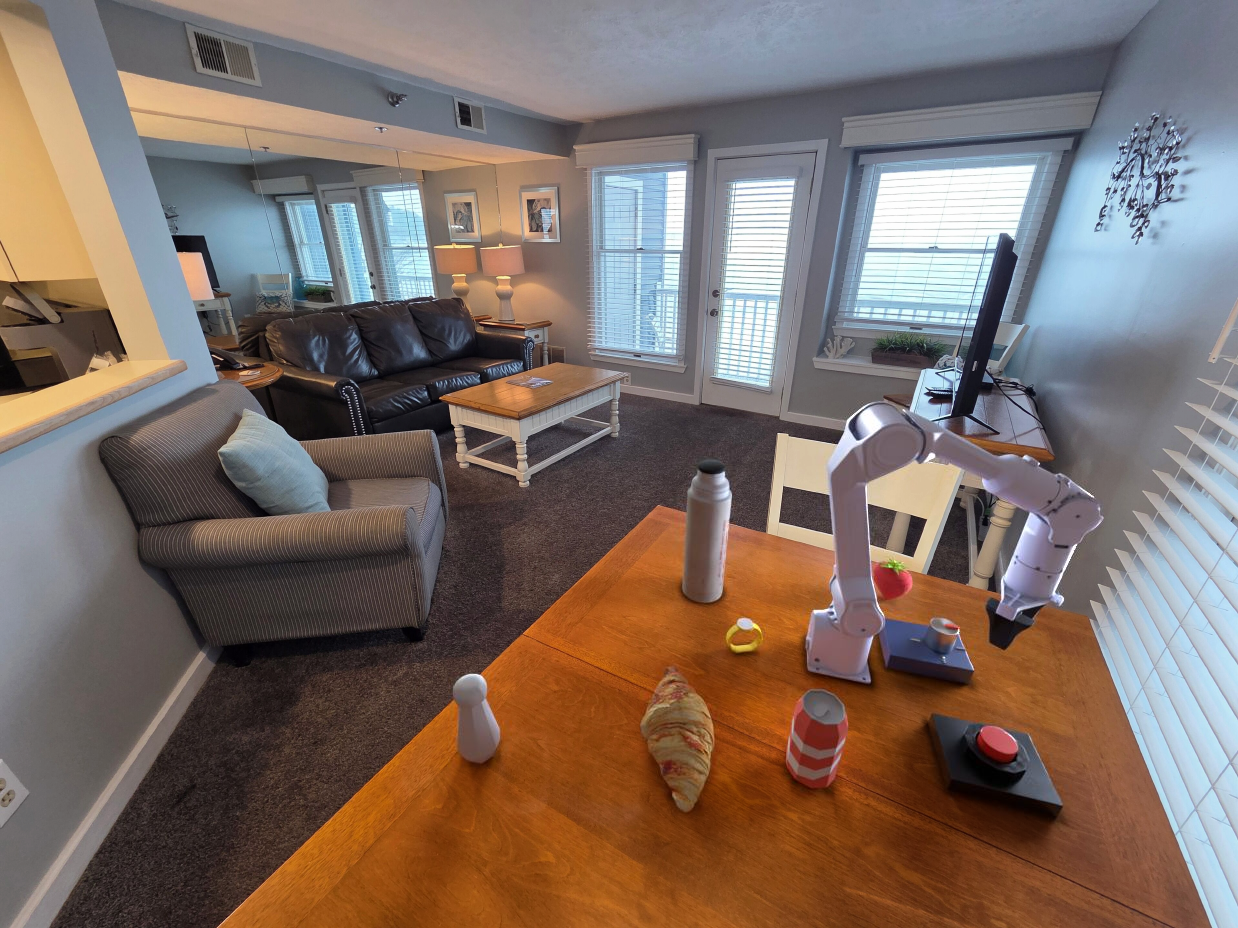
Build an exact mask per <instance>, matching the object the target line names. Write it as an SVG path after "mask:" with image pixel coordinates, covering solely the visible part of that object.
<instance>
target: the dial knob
mask: <svg viewBox="0 0 1238 928" xmlns="http://www.w3.org/2000/svg"><path fill="white" fill-rule="evenodd" d="M928 626H929V627H928V630H927V633H926V636H925V643H926V645H927V646H928V647H929V648H931V649H932V650H934V651H936V652H939V653H950V652H951V651H952V649H953V646H954V644H955V641H956V638H957V635H958V634H960V633H959V632H960V627H959V625H957V624H956V623H954V622H953V621H951V620H949V619H948V618H947V619H946V618H944V617H933V618H932V619H930V621H929V624H928Z"/></svg>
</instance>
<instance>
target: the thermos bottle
mask: <svg viewBox="0 0 1238 928" xmlns="http://www.w3.org/2000/svg"><path fill="white" fill-rule="evenodd" d="M696 467H697V475H695V476H693V478H692V480H691V484H690V485H691V486H690V487H689V488H688V489H687V498H686V499H687V500H686V516H685V533H684V534H685V535H684V558H683V566H682V567H683V568H682V584H681V585H682V586H681V587H682V592H683V594H684V595H685V596H686V597H687V598H688V599H690V600H692V601H694V602H697V603H701V604H702V603H703V604H706V603H713V602H716V601H717V600H719V599H720V598H721V596H722V595H723V588H724V580H725V579H724V578H725V577H724V576H725V568H726V559H727V558H726V557H727V547H728V538H729V526H730V519H731V510H732V509H731V508H732V507H731V506H732V496H733V495H732V491H731V490H730V482H729V480H728V479H727V478H726V464H725V463H724V462H722V461H720V460H718V459H717V460H716V459H703V460H701V461H699V462H698V463H697V466H696Z"/></svg>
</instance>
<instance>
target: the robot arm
mask: <svg viewBox="0 0 1238 928" xmlns="http://www.w3.org/2000/svg"><path fill="white" fill-rule="evenodd" d="M902 412H903V413H904V416H903V415H902V413H901V411H900V410H899V409H898V408H897V406H895V405H894V404H892V403H890V402H887V401H873V402H870V403H868V404H866V405H864V406H862V407H861V408H860V409H859V410H857V411H856V412H855V413H854V414H853V415H851V416H850V417H849V418H848V419H847V420H846V424H845V427H844V432H843V434H842V436H841V438H840V440H839V441H838V444H837V445H836V447H835V449H834V451H833V452H832V454H831V457H830V458H829V460H828V462H827V465H826V473H827V475H826V476H827V484H828V485H827V487H828V497H829V507H830V508H829V509H830V517H831V529H832V539H833V549H834V558H835V559H834V560H835V564H833V574H832V577H831V578H830V580H829V582H828V588H829V591H830V593H831V595H832V601H831V603H830V604H829V606H828V608H826V609H813V610H812V612H811V615H810V619H809V624H808V629H807V635H806V637H805V650H806V665H807V667H806V668H807V671H808V672H810V673H816V674H819V675H825V676H830V677H834V678H839V679H843V680H848V681H854V682H859V683H863V684H871V681H872V679H871V674H870V670H869V664H868V658H869V654H870V650H871V646H872V643H873V639H874V637H875V636H876V635H877V634H878V633H879V632H880V631H881V630H882V629H883V627H884V625H885V618H886V617H885V615H884V613H883V612H882V610H881V608H880V606H879V603H878V599H877V594H876V590H875V587H874V586H875V585H874V580H873V577H872V576H873V574H872V561H871V546H870V545H871V543H870V529H869V512H868V497H867V494H868V493H867V485H868V484H869V483H871V482H873V481H875V480H877V479H880V478H882V477H884V476H887V475H889V474H891V473H894V472H896V471H898V470H901V469H903V468H905V467H907V466H908V465H911V464H912V463H913V462H914V461H915V462H916V463H917V464H918V465H922V464H924V463H926V462H928V461H931V460H932V459H935V458H937V459H939V460H941V461H944V462H945V463H948V464H950V465H953V466H954V467H957V468H959V469H962V470H963V471H965V472H968V473H970V474H972V475H974V476H977V477H979V478H981V481H982V486H983V487H984V490H985V491H986V492H988V493H989V494H992V495H994V496H996V497H998V498H1000V499H1002V500H1004V501H1006V502H1008V503H1009V504H1012V505H1014V506H1016V507H1017V508H1019V509H1021V510H1024V511H1025V512H1027V513H1029V514H1028V517H1027V518H1026V519H1027V520H1026V521H1025V525H1024V527H1023V529H1022V532H1021V535H1020V537H1019V540H1018V542H1017V545H1016V547H1015V549H1014V552H1013V554H1012V557H1011V560H1010V562H1009V565H1008V567H1007V569H1006V572H1005V574H1004V575H1002V577H1001V579H1000V581H1001V582H1000V592H1001V593H1000V594H1001V596H1000V597H1001V598H1000V599H1001V600H998V599H996V598H994V597H993V596H991V597H990V598H989V599H988V600H986V602H985V605H984V610H985V611H986V614H987V617H988V620H989V621H988V624H989V626H988V627H989V628H988V643H989V644H991V645H993V646H995V647H997V649H998V648H999V649H1000V650H1002V651H1006V650H1007V649H1008V648H1009V647H1010V646H1011V645H1012V644H1013V642H1014V641H1015V640H1016V638H1017V636H1018V635H1019V634H1021V633H1022V632H1024V631H1026V630H1028V629H1030V628H1031V627H1032V626H1033V625H1034V624H1035V623H1036V622H1037V621H1036V620H1035V619H1034V618H1035V617H1036V616H1037V614H1039V612H1040V611H1041V610H1042V609H1043V608H1044V607H1045V606H1046V605H1048V604H1049V605H1052V606H1054V607H1060V606H1061V605H1062V604H1063V602H1064V600H1065V599H1064V597H1063V596H1062V595H1060V591H1059V590H1058V589H1057V588H1058V585H1059V584H1060V582H1061V579H1062V577H1063V574H1064V572H1065V571H1066V568H1067V566H1068V564H1069V561H1070V559H1071V557H1072V555H1073V553H1074V550H1075V549H1076V546H1077V545H1078V544H1079V543H1082V541H1083V538H1084V536H1085V535H1086V534H1087V533H1089V532H1091V531H1093V530H1094V529H1096V528H1097V527H1098V526H1099V525H1100V524H1101V522H1102V521H1103V520H1104V516H1102V515H1101V504H1100V502H1099V500H1098V499H1097V498H1095V497H1094V496H1093V495H1091V494H1090V493H1089V492H1087V491H1086V490H1085V489H1083V488H1082V487H1080V486H1079V485H1078V484H1077V483H1075V482H1073V480H1072V479H1071V478H1070V477H1068V476H1067V475H1065V474H1063V473H1061V472H1060V473H1052V472H1050V471H1048V470H1047V469H1045V468H1042V467H1041V466H1039V465H1040V462H1039V461H1038V460H1037V459H1036V458H1034V457H1032V456H1030V455H1028V454H1024V456H1023V457H1021V456H1019V455H1016V454H1011V453H1010V454H1008V453H1007V454H1003V455H1000V456H996V455H994V454H992V453H991V452H989V451H987V450H986V449H983V448H982V447H980V446H978V445H976V444H974V443H973V442H971V441H969V440H967V439H965V438H964V437H962V436H960V435H958V434H956V433H954V432H953V431H951V430H949V429H947V428H945V427H944V426H941V425H940V424H938V423H937V422H934V421H932V420H930V419H928V418H926V417H923V416H922V415H919V414H918V413H915V412H912V411H911V410H908V409H904V408H902Z"/></svg>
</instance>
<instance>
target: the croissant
mask: <svg viewBox="0 0 1238 928" xmlns="http://www.w3.org/2000/svg"><path fill="white" fill-rule="evenodd" d="M688 682H689V681H688V679H687V678H686V677H685V676H684V675H683V674H682V673H681V671H679V670H678V668H677V667H676V666H668V667H667V668H665V670H664V672H663V678H662V679H661V680H660V681H659V683H658V684H657V686H656V687H655V689H654V691H653V695H652V698H651V699H650V700H649V701H648V703H647V707H646V711H645V714H644V716H643V717H642V718H641V720H640V724H639V730H640V732H641V733H640V734H641V736H642V737H643V738H644V740H645V742H646V744H647V750H648V753H649V754H650V756H653V758H654V760H655V762H656V763H657V765H658V766H659V769H660V773H661V776H662V779H663V780H664V781H665V782H666V783H667V785H668V787H669V788H670V789H671V796H672V799H673V800H674V802H675V804H676V806H677V808H678V809H679V810H681V811H682V812H684V813H688V812H690V811H691V810H692V809H693V808H694V806H695V804H696V803H697V801H698V799H699V798H700V793H701V792H702V790H703V789H704V786H705V783H706V781H707V779H708V778H709V777H708V776H709V774H710V770H711V753H712V752H713V751H714V747H715V734H714V733H715V730H714V725H713V721H712V717H711V714H710V711H709V709H708V706H707V705H706V703H705V700H704V699H703V698H702V697H701V696H700V695H699V694H698V693H697V692H696V690H695V688H694V687H693V686H691V685H689V683H688Z"/></svg>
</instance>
